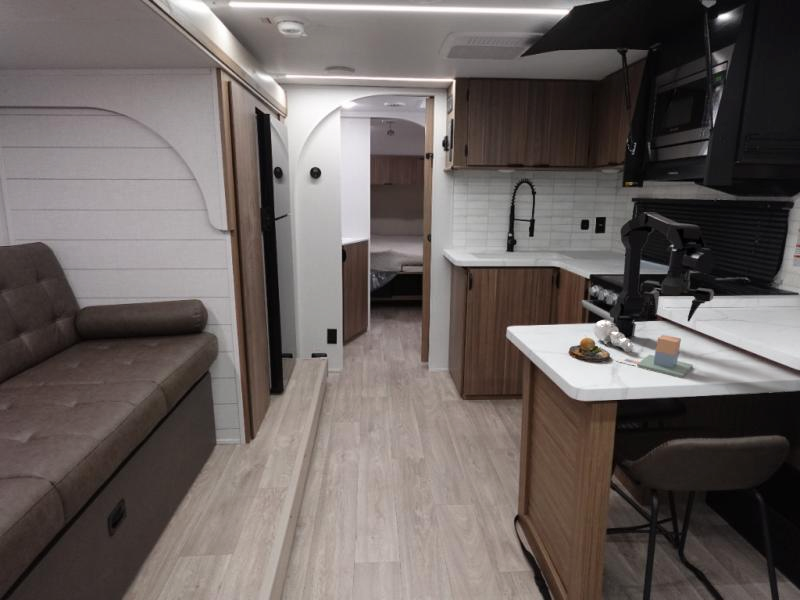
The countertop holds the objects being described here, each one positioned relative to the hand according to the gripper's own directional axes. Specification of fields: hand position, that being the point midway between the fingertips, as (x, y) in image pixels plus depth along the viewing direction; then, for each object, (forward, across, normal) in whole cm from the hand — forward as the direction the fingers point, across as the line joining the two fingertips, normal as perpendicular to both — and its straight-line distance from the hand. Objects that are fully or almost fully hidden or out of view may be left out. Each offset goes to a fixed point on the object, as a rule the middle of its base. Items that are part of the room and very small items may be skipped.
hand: (671, 318), depth 150 cm
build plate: (+13, +2, -8) cm, 15 cm away
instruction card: (+13, -6, -11) cm, 18 cm away
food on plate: (+14, -18, -15) cm, 27 cm away
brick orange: (+8, +2, -8) cm, 12 cm away
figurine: (+13, -17, +1) cm, 21 cm away
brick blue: (+12, +2, -8) cm, 15 cm away
